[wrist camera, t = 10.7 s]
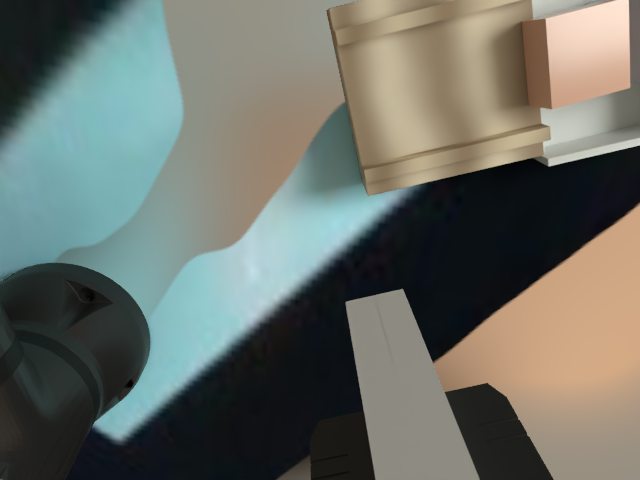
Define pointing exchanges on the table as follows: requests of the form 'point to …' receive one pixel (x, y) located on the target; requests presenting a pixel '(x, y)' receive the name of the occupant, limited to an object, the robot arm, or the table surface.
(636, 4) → the slate tile
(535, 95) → the terracotta tile
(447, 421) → the robot arm
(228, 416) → the table surface
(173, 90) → the table surface
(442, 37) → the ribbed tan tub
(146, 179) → the table surface
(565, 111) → the tray
